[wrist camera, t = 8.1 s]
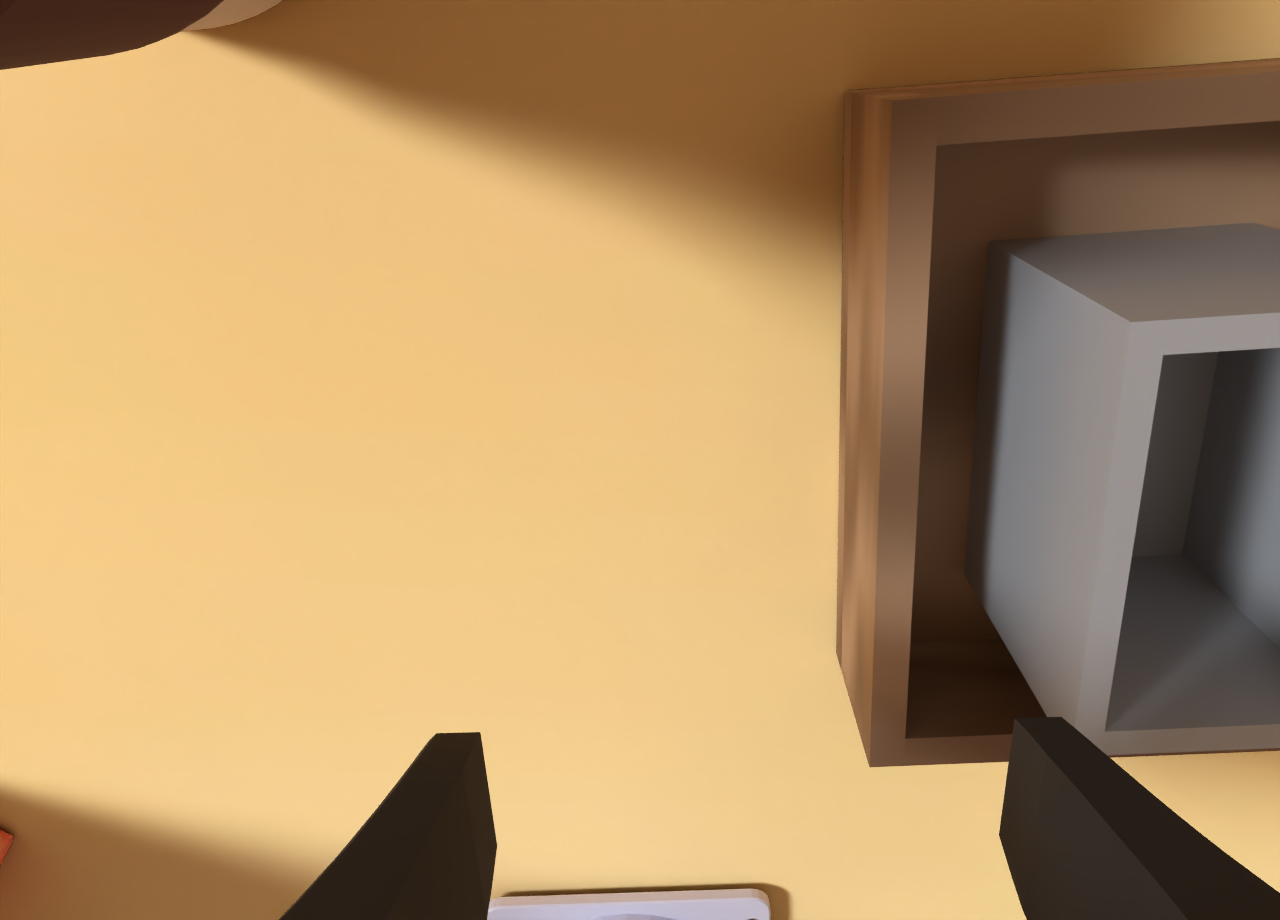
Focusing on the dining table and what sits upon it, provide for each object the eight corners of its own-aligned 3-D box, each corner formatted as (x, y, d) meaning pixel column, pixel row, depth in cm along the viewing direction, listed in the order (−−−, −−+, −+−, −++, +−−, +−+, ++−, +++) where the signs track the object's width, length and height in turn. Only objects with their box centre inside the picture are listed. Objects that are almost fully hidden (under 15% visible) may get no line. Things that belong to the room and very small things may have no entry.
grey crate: (1190, 562, 21) (1379, 743, 15) (964, 573, 21) (1070, 757, 16) (1252, 222, 18) (1514, 296, 12) (988, 241, 18) (1131, 322, 13)
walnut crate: (1271, 632, 22) (1390, 746, 19) (836, 652, 23) (869, 766, 19) (1410, 47, 17) (1611, 46, 14) (844, 90, 18) (892, 100, 14)
